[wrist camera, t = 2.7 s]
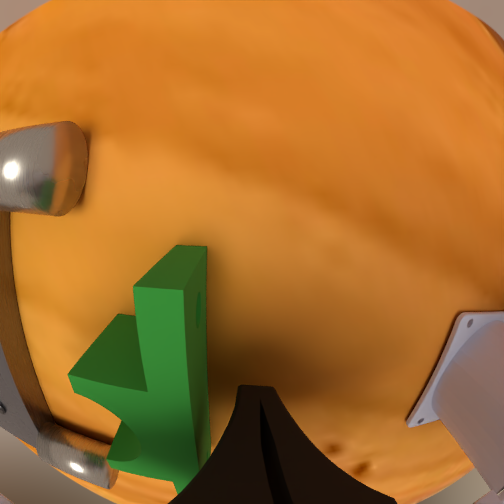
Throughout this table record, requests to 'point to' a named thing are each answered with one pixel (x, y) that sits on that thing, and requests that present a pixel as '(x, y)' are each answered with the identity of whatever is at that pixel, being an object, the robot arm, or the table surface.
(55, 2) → the table surface
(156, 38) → the table surface
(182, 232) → the table surface
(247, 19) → the table surface
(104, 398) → the green notched block
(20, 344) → the fixed leaf
